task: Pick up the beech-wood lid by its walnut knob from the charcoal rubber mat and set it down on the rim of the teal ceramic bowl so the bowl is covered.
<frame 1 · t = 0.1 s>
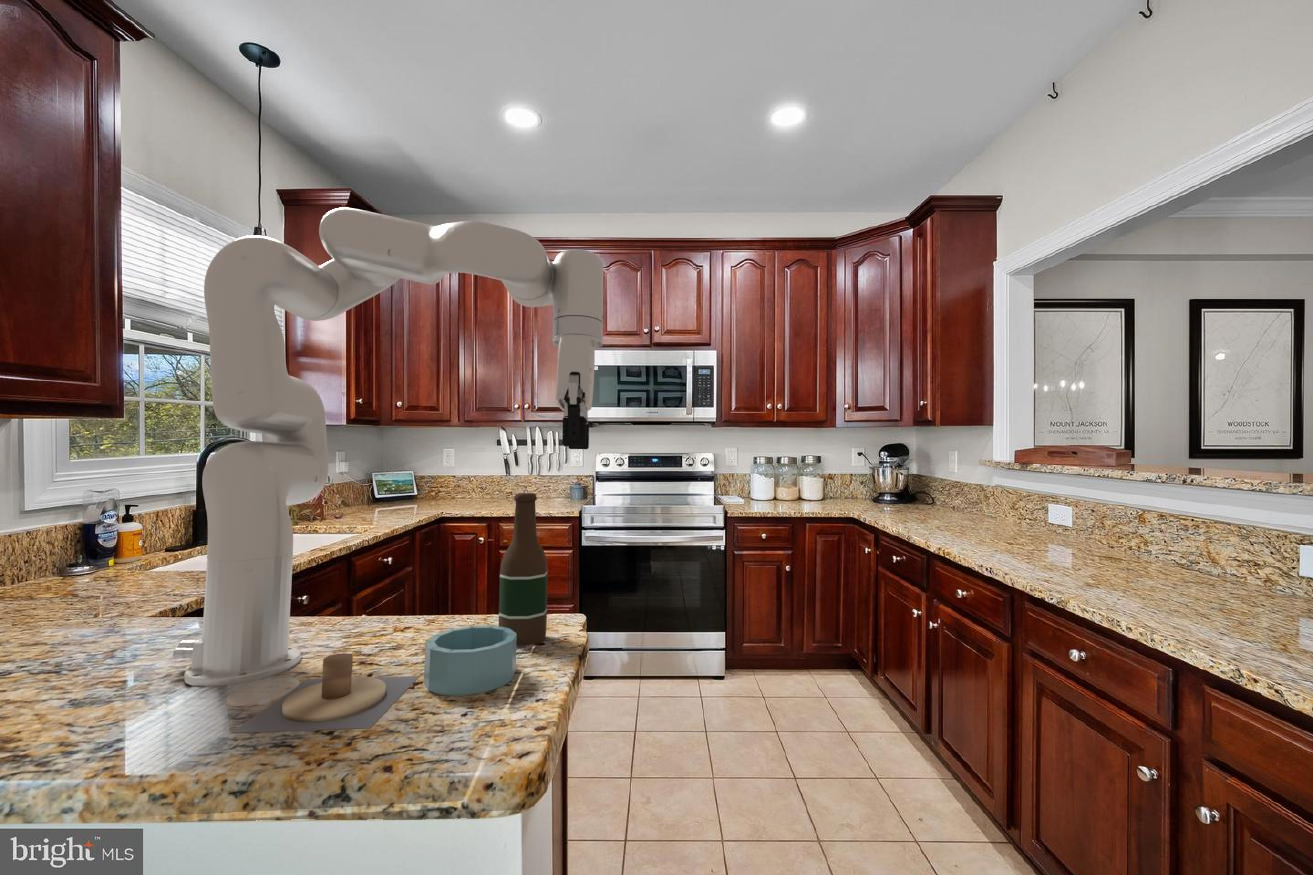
hand: (576, 447, 78), 31 cm above the countertop, tool pointing down, fingers open, 9 cm apart
beer bottle: (522, 641, 85), on the countertop
mat: (336, 704, 61), on the countertop
bowl: (471, 680, 69), on the countertop
lid: (336, 700, 61), resting on mat
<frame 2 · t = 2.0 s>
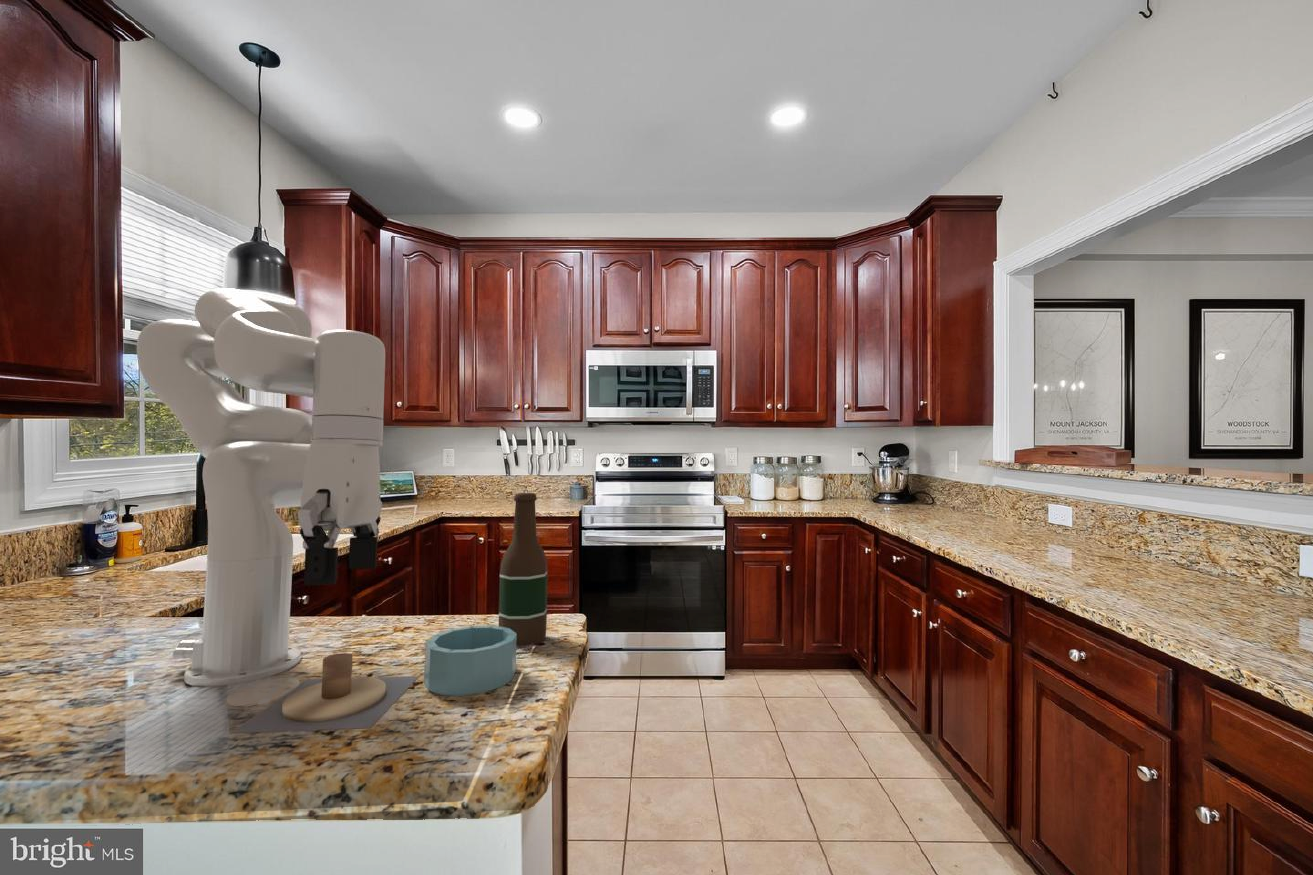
hand: (343, 575, 62), 15 cm above the countertop, tool pointing down, fingers open, 9 cm apart
nothing on the countertop moved.
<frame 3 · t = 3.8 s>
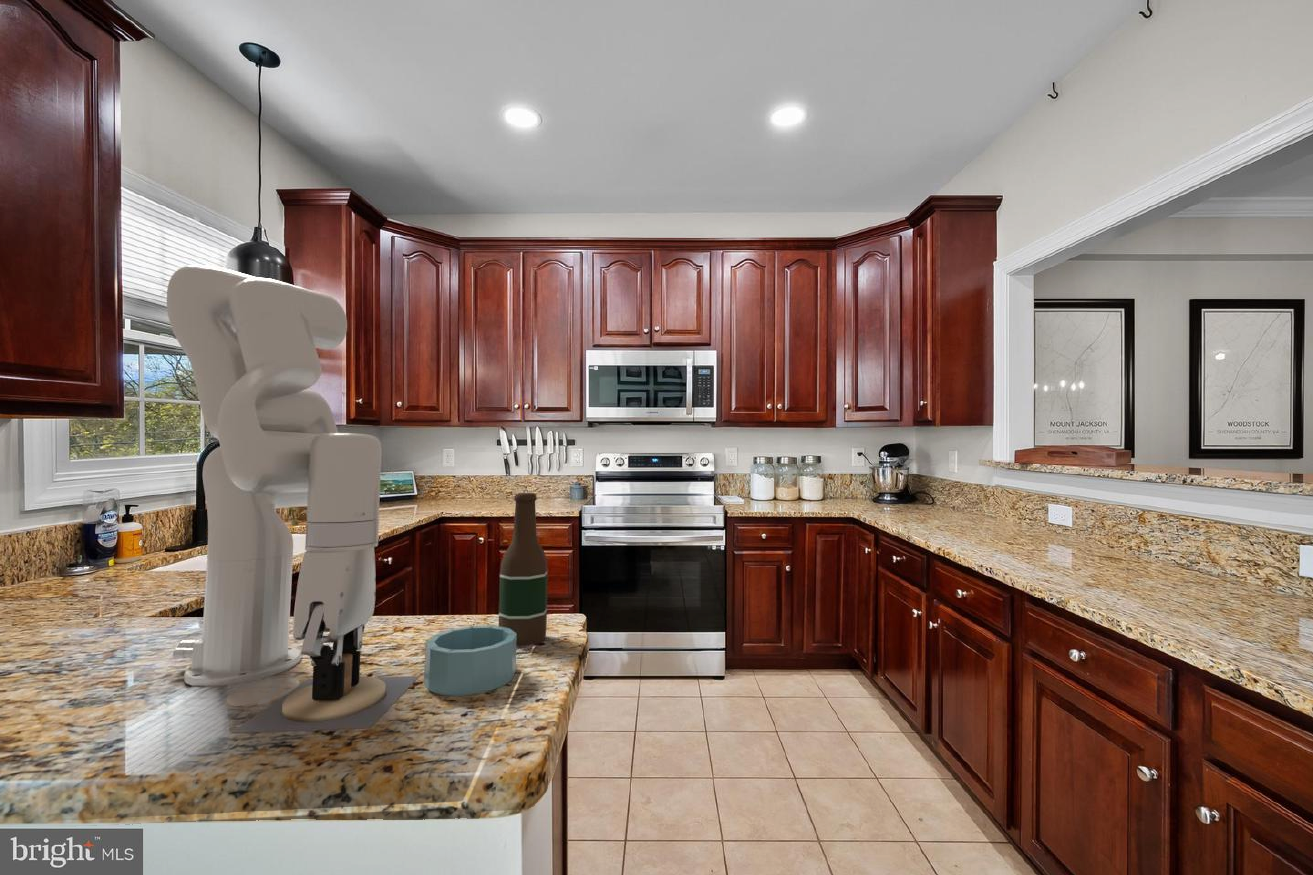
hand: (336, 690, 62), 2 cm above the countertop, tool pointing down, fingers closed on lid, 3 cm apart
lid: (335, 700, 61), resting on mat, touching gripper
everything else where it was.
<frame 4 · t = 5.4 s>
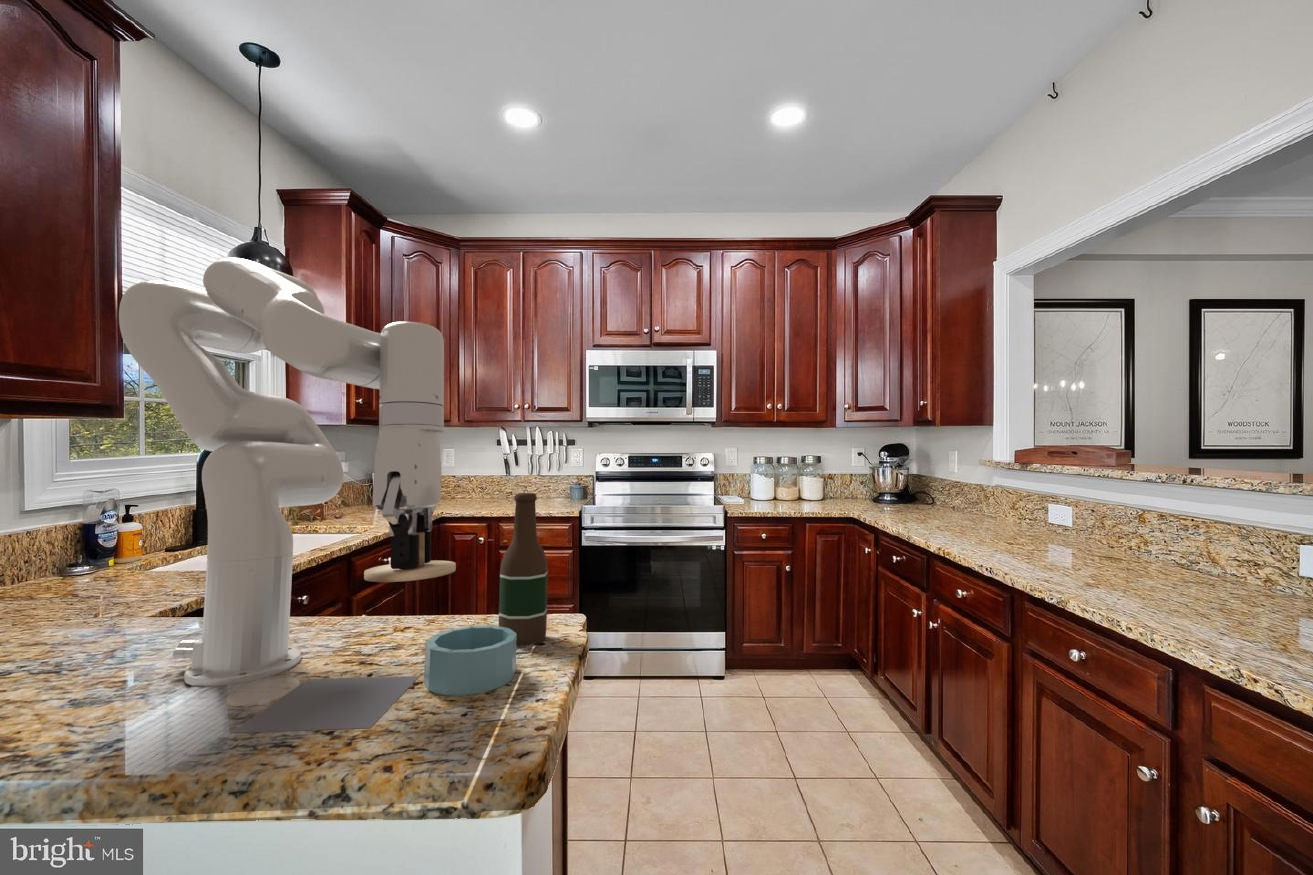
hand: (411, 564, 65), 16 cm above the countertop, tool pointing down, fingers closed on lid, 3 cm apart
lid: (411, 573, 65), point 15 cm above the countertop, touching gripper
everything else where it was.
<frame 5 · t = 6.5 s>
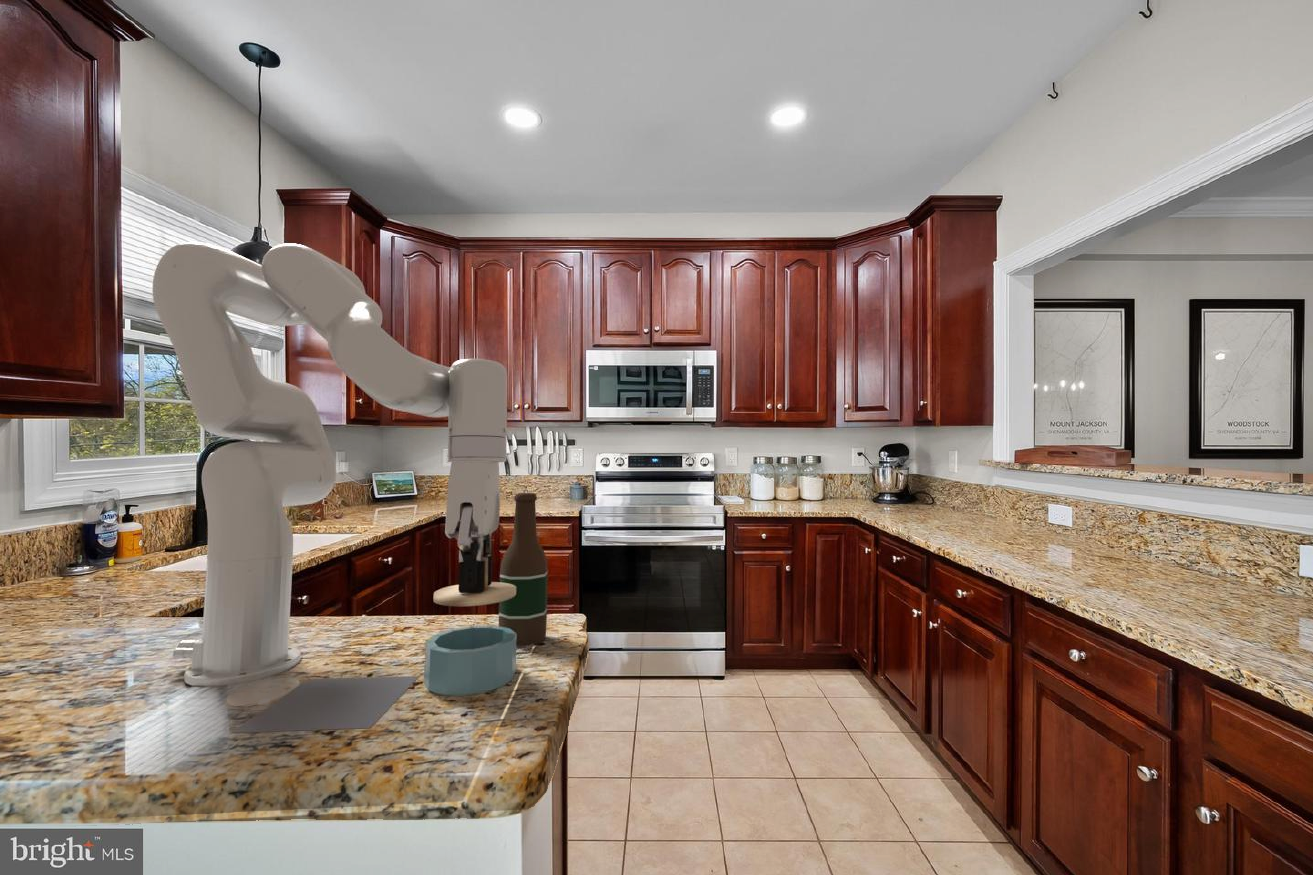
hand: (475, 587, 69), 12 cm above the countertop, tool pointing down, fingers closed on lid, 3 cm apart
lid: (475, 596, 69), point 11 cm above the countertop, touching gripper
everything else where it was.
when the fingers open (8 cm above the countertop, at t = 7.3 s): lid drops 2 cm, resting on bowl.
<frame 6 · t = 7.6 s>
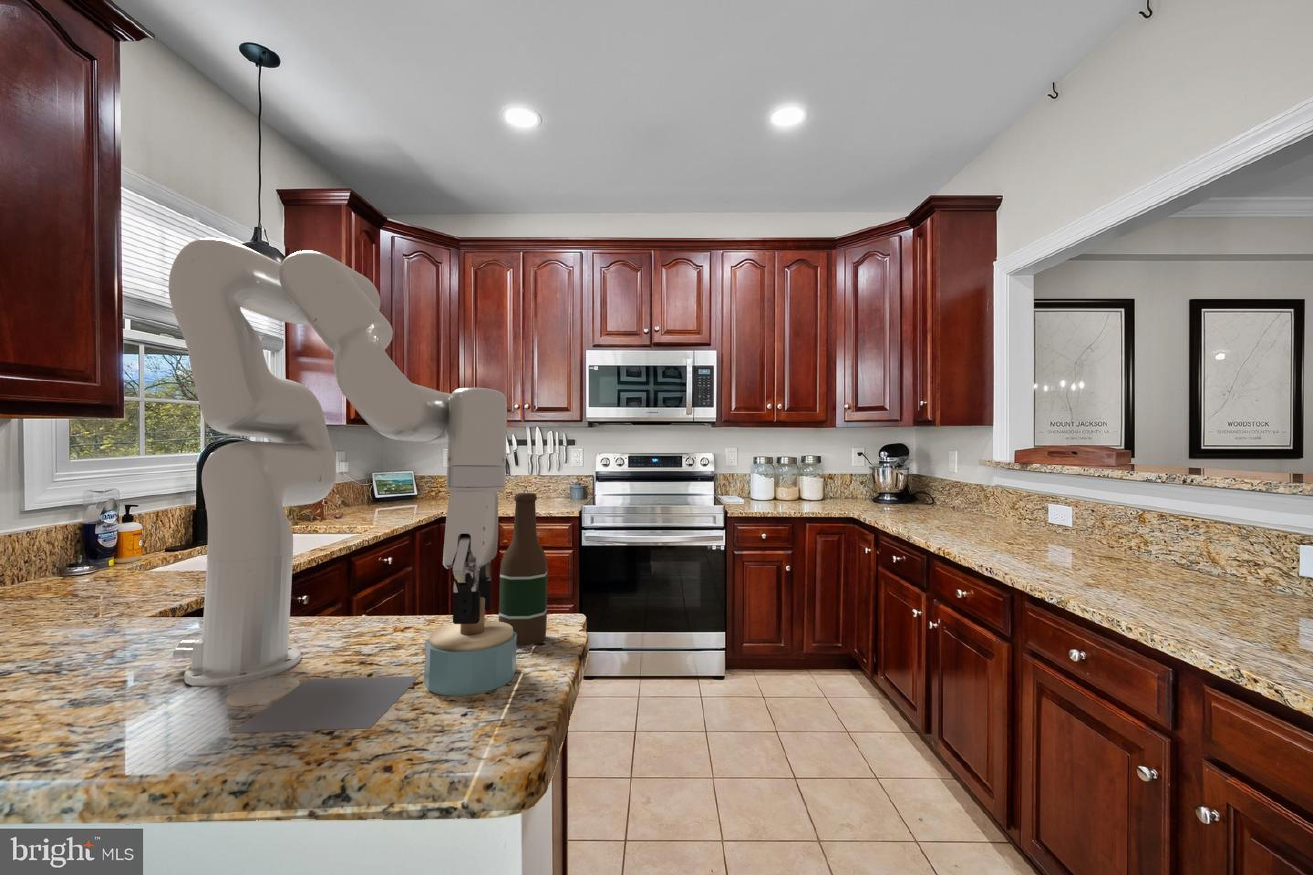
hand: (472, 615, 69), 8 cm above the countertop, tool pointing down, fingers open, 5 cm apart
lid: (472, 637, 69), point 5 cm above the countertop, touching bowl
everything else where it was.
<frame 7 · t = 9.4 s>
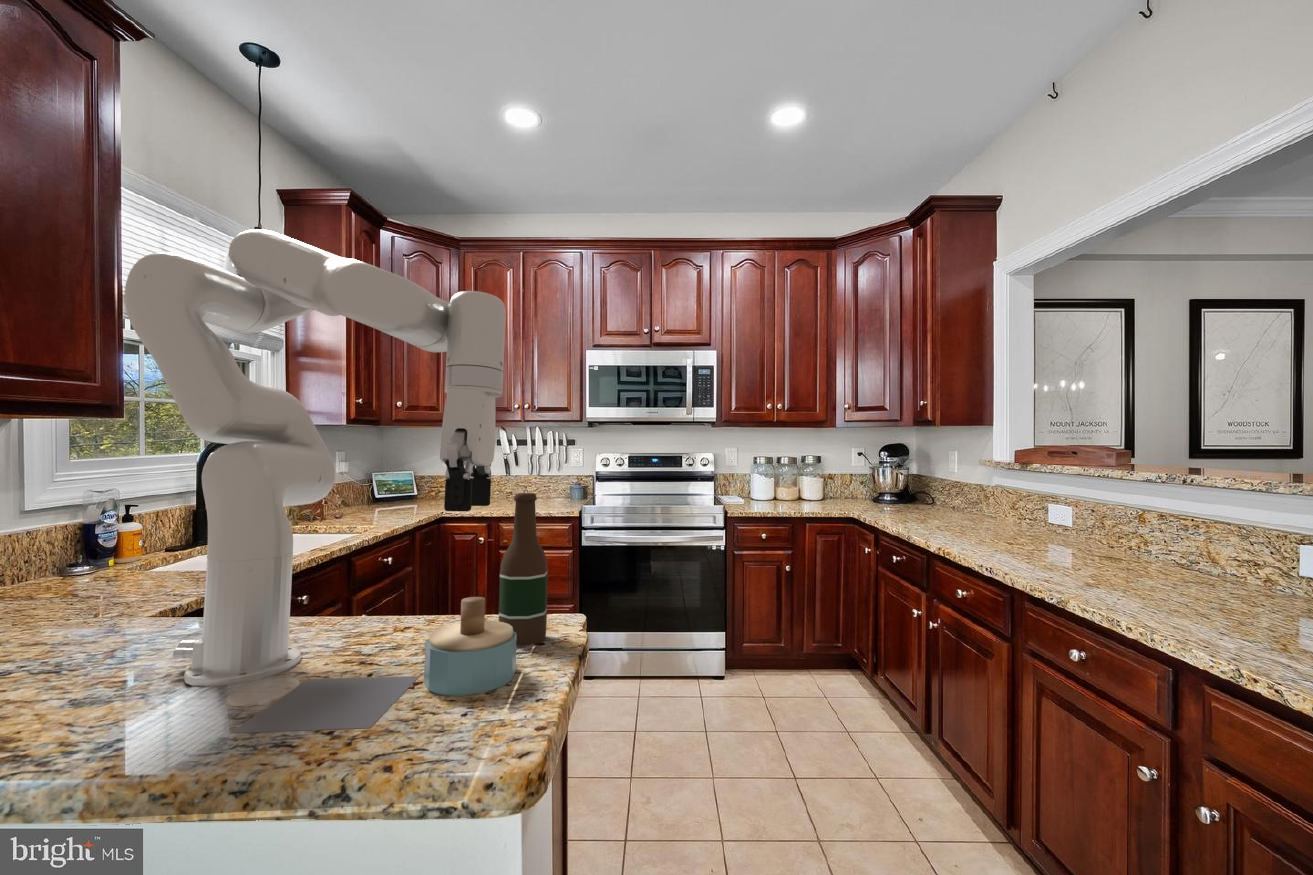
hand: (468, 508, 71), 23 cm above the countertop, tool pointing down, fingers open, 9 cm apart
nothing on the countertop moved.
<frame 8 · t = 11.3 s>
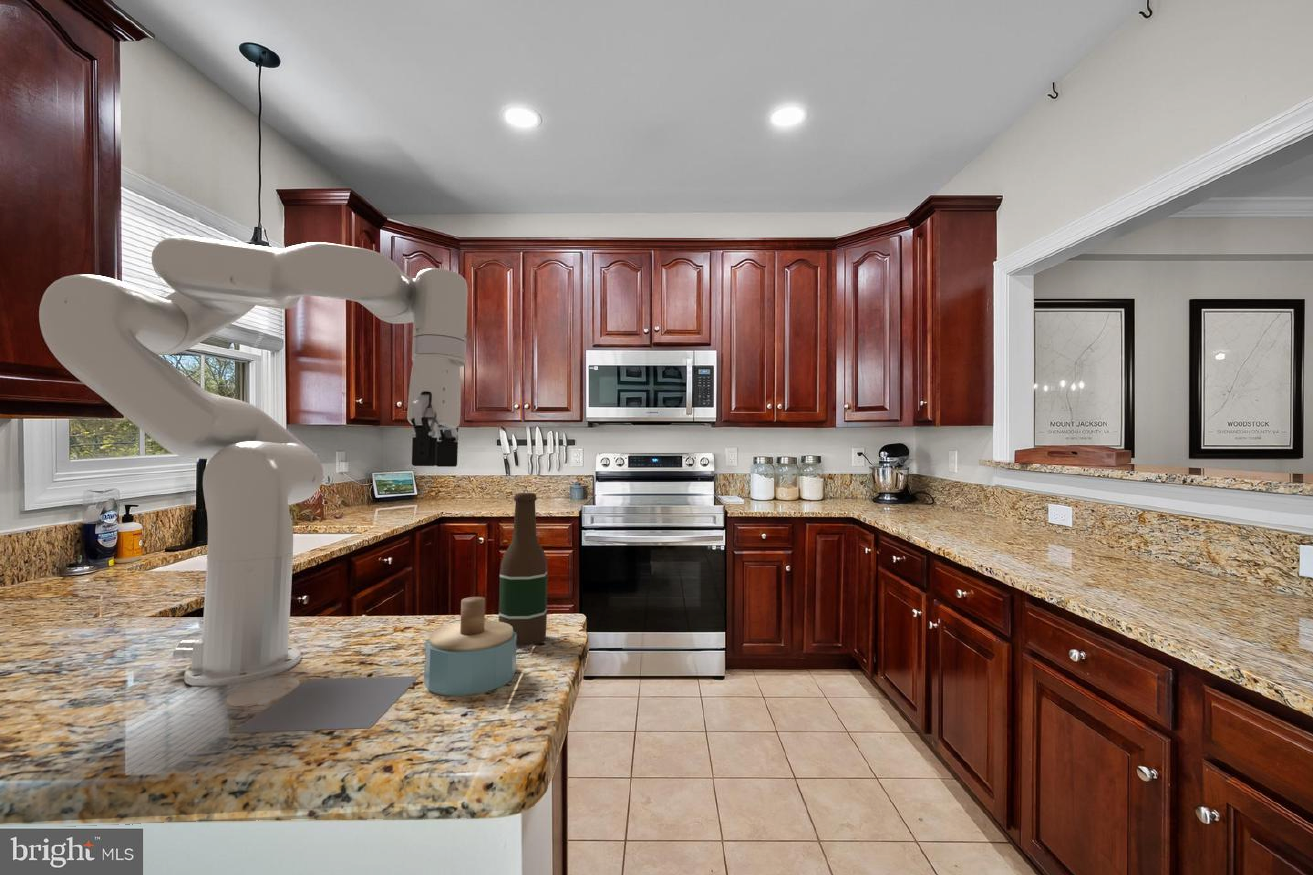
hand: (435, 466, 78), 28 cm above the countertop, tool pointing down, fingers open, 9 cm apart
nothing on the countertop moved.
at the end: lid 0.0 cm off-centre on the bowl, point 5.5 cm above the bowl's base; lid tilted 0°; the gripper is holding nothing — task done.
